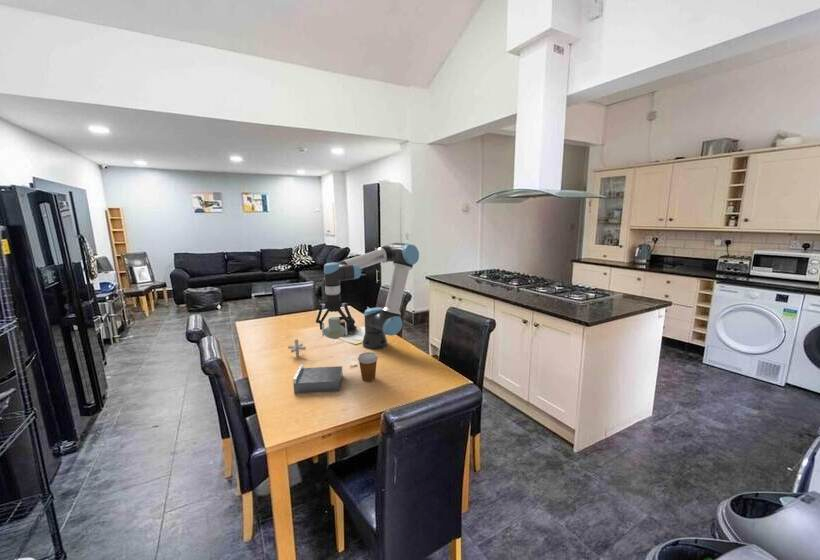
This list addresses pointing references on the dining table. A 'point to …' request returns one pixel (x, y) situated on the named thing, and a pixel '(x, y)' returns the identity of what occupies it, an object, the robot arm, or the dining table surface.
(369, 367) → the disposable coffee cup
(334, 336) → the air freshener
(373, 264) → the robot arm
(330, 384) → the block
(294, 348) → the pipe connector
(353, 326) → the casserole
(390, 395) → the dining table surface
